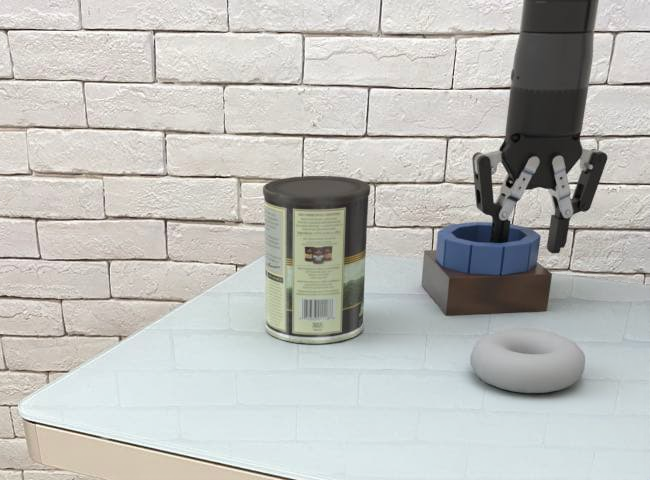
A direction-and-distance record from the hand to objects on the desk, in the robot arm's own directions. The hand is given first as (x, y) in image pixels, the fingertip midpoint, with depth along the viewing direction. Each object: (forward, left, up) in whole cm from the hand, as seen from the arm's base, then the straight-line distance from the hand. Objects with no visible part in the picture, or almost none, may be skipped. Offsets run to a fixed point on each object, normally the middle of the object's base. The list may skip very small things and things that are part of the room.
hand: (526, 252), depth 105 cm
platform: (+4, 0, -5) cm, 7 cm away
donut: (+7, +24, -5) cm, 25 cm away
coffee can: (+24, +8, -5) cm, 26 cm away
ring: (+4, 0, -1) cm, 5 cm away
